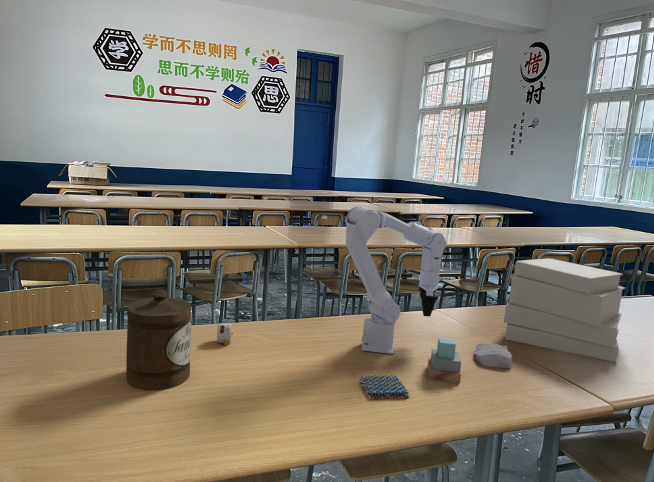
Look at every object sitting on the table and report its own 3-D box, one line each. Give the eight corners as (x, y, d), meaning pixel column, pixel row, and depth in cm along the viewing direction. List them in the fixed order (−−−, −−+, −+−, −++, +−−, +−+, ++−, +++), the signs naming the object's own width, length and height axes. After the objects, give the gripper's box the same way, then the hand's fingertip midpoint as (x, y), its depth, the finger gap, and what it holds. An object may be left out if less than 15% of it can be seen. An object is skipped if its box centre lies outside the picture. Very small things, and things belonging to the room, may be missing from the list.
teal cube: (439, 357, 128) (440, 342, 128) (437, 351, 132) (438, 337, 131) (454, 358, 128) (455, 344, 127) (451, 353, 132) (453, 339, 131)
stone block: (478, 371, 139) (514, 369, 137) (476, 355, 139) (513, 353, 137) (473, 357, 151) (506, 355, 149) (471, 342, 150) (505, 340, 148)
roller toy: (233, 338, 147) (233, 320, 146) (231, 346, 141) (232, 327, 140) (218, 338, 146) (218, 320, 145) (216, 346, 140) (216, 327, 139)
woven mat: (396, 380, 126) (397, 373, 126) (410, 400, 116) (411, 392, 116) (357, 381, 124) (358, 374, 124) (368, 401, 114) (369, 393, 114)
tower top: (433, 369, 127) (434, 358, 127) (430, 359, 134) (431, 348, 134) (460, 372, 127) (461, 361, 126) (456, 361, 134) (457, 351, 133)
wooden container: (186, 389, 113) (187, 299, 110) (119, 390, 111) (119, 298, 107) (193, 363, 128) (194, 283, 124) (134, 364, 125) (134, 281, 122)
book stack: (622, 369, 143) (636, 284, 139) (499, 342, 159) (508, 266, 155) (615, 339, 170) (627, 268, 165) (510, 319, 185) (518, 253, 181)
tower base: (428, 380, 127) (429, 370, 127) (427, 368, 135) (428, 358, 135) (459, 384, 126) (461, 373, 126) (456, 372, 134) (457, 361, 134)
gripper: (445, 276, 141) (441, 320, 144) (441, 266, 156) (437, 307, 158) (421, 274, 142) (417, 318, 145) (419, 264, 157) (415, 304, 159)
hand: (426, 312), depth 151 cm, fingers open, 7 cm apart
